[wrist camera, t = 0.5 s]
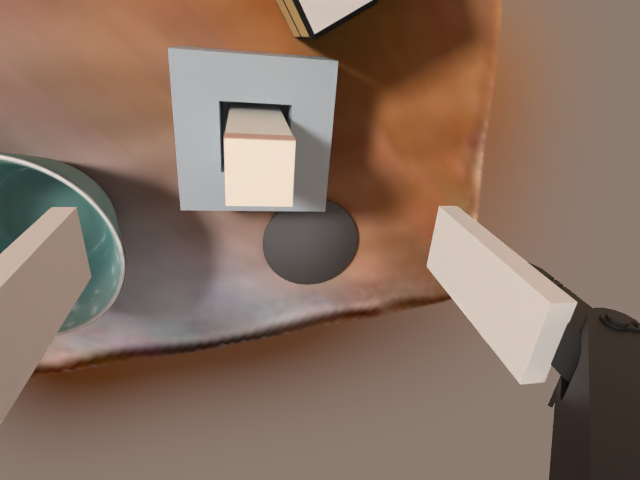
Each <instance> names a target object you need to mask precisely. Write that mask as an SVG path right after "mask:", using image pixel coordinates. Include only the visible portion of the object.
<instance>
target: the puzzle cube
mask: <svg viewBox="0 0 640 480" xmlns="http://www.w3.org/2000/svg"><path fill="white" fill-rule="evenodd" d="M276 1H277V3H278V5H279V7H280V9H281V11H282V13H283V15H284V17H285V19H286V21H287V23H288V25H289V27H290V30H291V32H292V34H293V36H294V37H296V38H299V39H306V38H307V39H318V38H319V37H321V36H323V35H324V34H326V33H328V32H329V31H331V30H333V29H335V28H336V27H338V26H340V25H341V24H343V23H345V22H346V21H348V20H350V19H352V18H353V17H355V16H357V15H358V14H360V13H362V12H364V11H365V10H367V9H369V8H370V7H372V6H374V5H375V4H377V1H378V0H276Z"/></svg>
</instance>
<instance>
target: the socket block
mask: <svg viewBox="0 0 640 480" xmlns="http://www.w3.org/2000/svg"><path fill="white" fill-rule="evenodd" d="M168 56H169V69H170V82H171V95H172V107H173V120H174V133H175V146H176V159H177V171H178V184H179V197H180V210H191V211H314V212H325V209H326V197H327V186H328V175H329V164H330V152H331V141H332V130H333V119H334V107H335V96H336V85H337V74H338V62H339V61H337V60H333V59H329V58H326V57H317V56H304V55H292V54H279V53H266V52H253V51H241V50H228V49H215V48H202V47H190V46H176V47H170V48H168ZM231 102H246V103H264V104H278V106H279V108H280V110H281V112H282V114H283V116H284V118H285V120H286V122H287V124H288V126H289V128H290V130H291V132H292V135H293V136H294V138H295V140H296V148H295V168H294V187H293V207H267V206H226V205H225V174H224V133H225V129H226V124H227V119H228V113H229V108H230V103H231Z"/></svg>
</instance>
